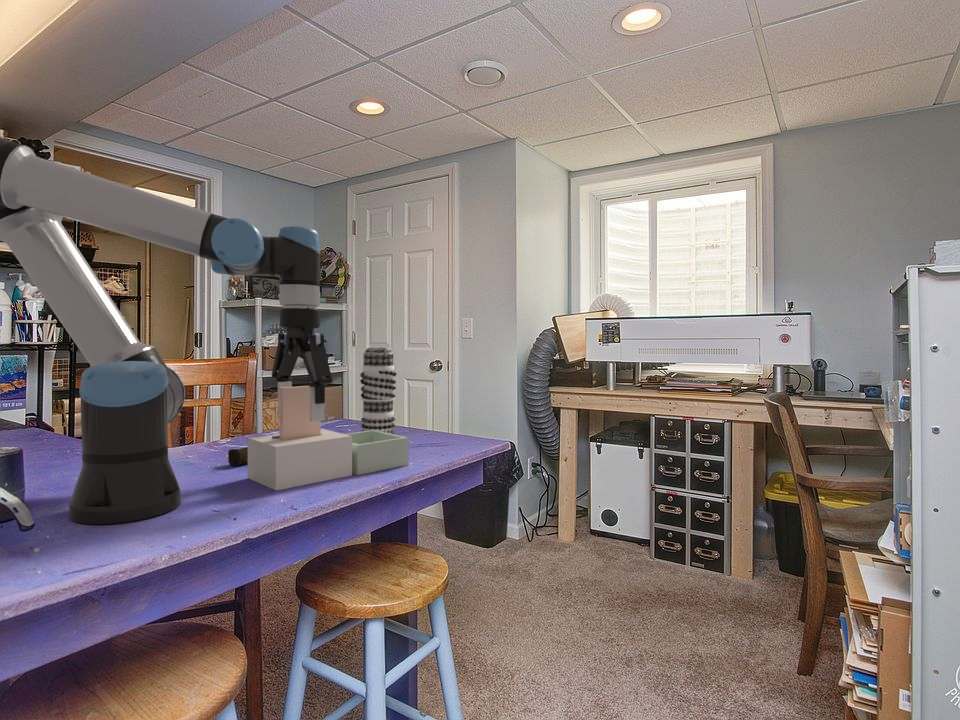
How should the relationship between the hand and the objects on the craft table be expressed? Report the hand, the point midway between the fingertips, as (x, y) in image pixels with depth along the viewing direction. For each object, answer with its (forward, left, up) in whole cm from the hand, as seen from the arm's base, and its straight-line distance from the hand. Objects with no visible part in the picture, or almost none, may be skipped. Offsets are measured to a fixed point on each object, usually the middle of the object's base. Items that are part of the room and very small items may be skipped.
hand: (300, 417), depth 111 cm
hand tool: (+3, +21, -12) cm, 24 cm away
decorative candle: (+30, +16, -12) cm, 36 cm away
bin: (+15, 0, -12) cm, 20 cm away
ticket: (0, 0, -10) cm, 10 cm away
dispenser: (0, 0, -12) cm, 12 cm away
